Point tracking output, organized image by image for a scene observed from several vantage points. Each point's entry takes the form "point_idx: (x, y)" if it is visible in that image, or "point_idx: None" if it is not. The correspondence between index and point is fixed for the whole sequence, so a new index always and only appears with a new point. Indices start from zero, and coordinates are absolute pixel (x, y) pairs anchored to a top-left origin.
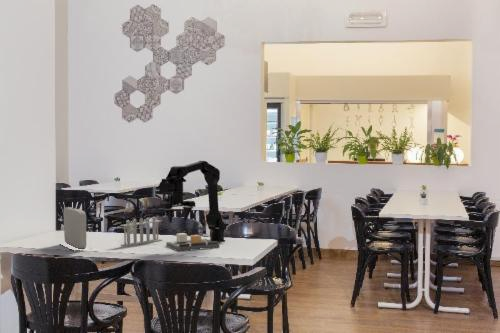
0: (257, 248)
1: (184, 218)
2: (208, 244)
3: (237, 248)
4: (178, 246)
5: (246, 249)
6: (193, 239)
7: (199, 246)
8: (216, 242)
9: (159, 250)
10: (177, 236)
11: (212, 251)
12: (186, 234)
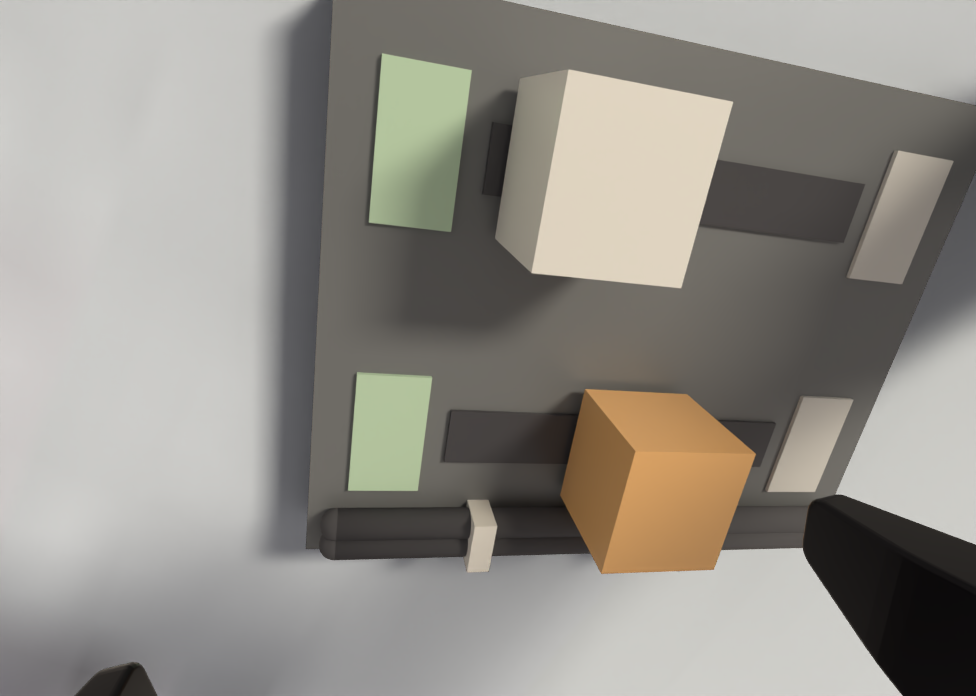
0: None
1: (878, 566)
2: None
3: None
4: (326, 492)
5: (850, 674)
6: (584, 528)
7: None
8: (799, 546)
9: (62, 315)
10: (539, 130)
11: (597, 653)
12: (668, 286)
